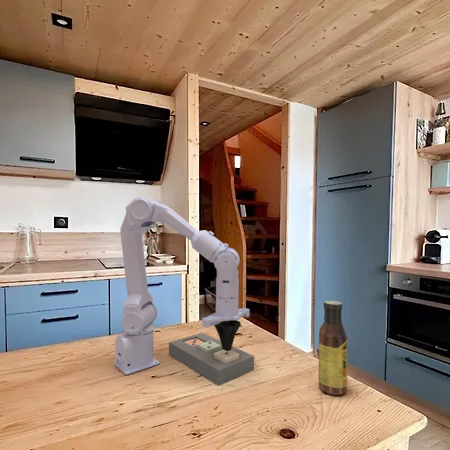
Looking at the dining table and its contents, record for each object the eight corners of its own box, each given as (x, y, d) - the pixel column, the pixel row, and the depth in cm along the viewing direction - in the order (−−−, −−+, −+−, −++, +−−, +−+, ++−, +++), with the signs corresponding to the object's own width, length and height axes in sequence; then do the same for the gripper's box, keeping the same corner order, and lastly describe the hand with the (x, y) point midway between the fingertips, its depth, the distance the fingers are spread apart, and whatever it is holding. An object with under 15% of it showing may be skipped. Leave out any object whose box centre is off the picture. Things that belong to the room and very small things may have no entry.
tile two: (207, 356, 80) (208, 349, 80) (197, 351, 83) (197, 344, 83) (221, 352, 83) (221, 345, 83) (210, 346, 87) (210, 340, 86)
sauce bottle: (349, 398, 66) (350, 307, 66) (319, 395, 68) (320, 305, 68) (344, 383, 73) (345, 299, 73) (316, 380, 74) (318, 298, 74)
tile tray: (218, 385, 71) (218, 370, 71) (168, 354, 88) (168, 342, 88) (253, 369, 79) (254, 356, 79) (202, 343, 95) (202, 332, 95)
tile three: (192, 353, 85) (192, 346, 85) (183, 348, 89) (183, 341, 89) (205, 348, 88) (205, 342, 88) (195, 344, 92) (195, 337, 92)
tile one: (225, 366, 75) (225, 358, 75) (213, 360, 78) (213, 352, 78) (239, 361, 78) (239, 353, 78) (227, 355, 81) (227, 347, 81)
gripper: (215, 304, 70) (214, 363, 70) (258, 295, 80) (257, 346, 80) (197, 298, 75) (196, 353, 75) (239, 290, 85) (238, 339, 85)
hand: (226, 349), depth 78 cm, fingers closed
